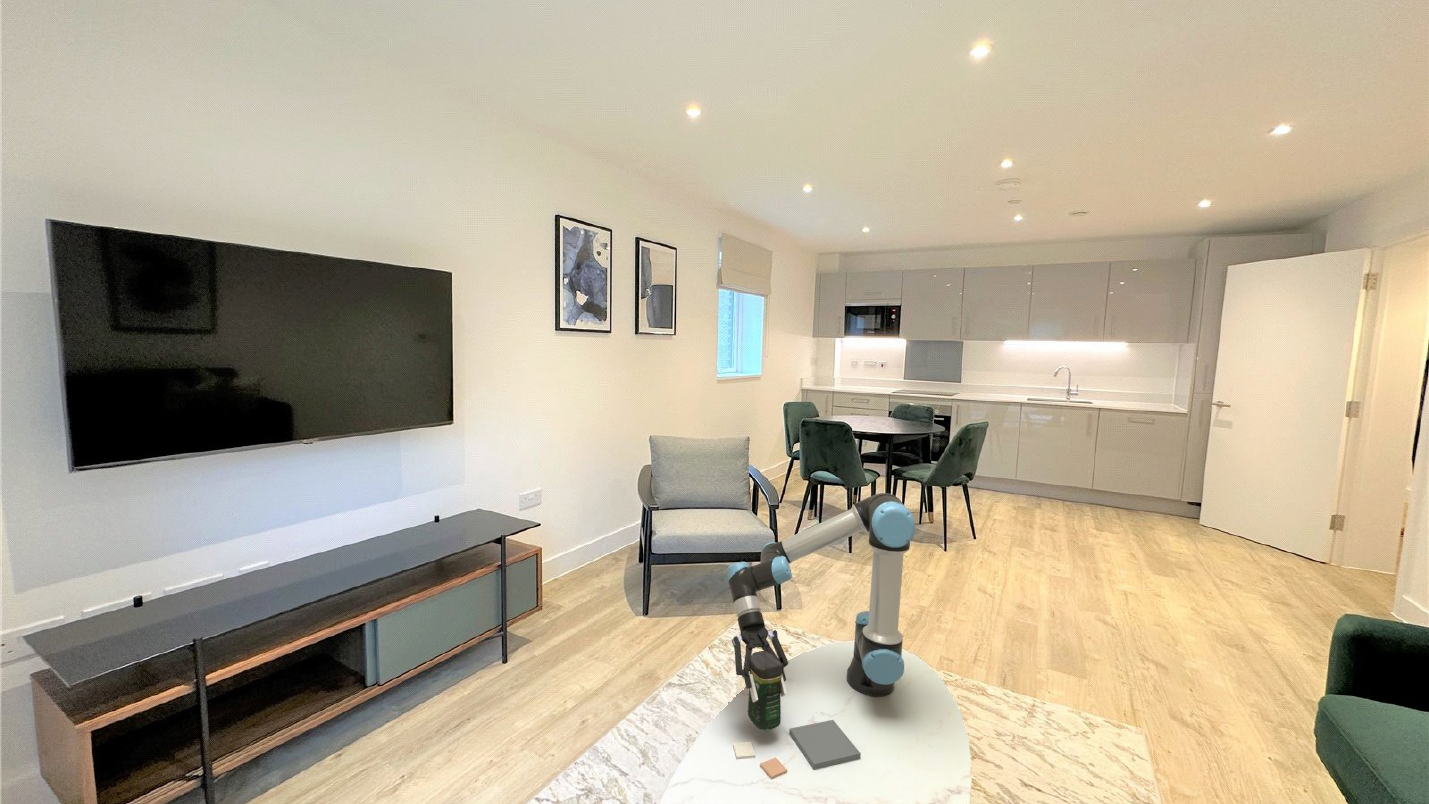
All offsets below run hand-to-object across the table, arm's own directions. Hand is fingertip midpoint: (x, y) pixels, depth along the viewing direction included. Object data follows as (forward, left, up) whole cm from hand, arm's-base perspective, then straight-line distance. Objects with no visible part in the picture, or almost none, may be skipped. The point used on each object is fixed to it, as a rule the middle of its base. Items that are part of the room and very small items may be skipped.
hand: (770, 698), depth 151 cm
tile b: (+8, +2, -13) cm, 15 cm away
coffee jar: (0, -3, -9) cm, 10 cm away
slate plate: (-14, +6, -13) cm, 20 cm away
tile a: (+3, +10, -13) cm, 17 cm away
